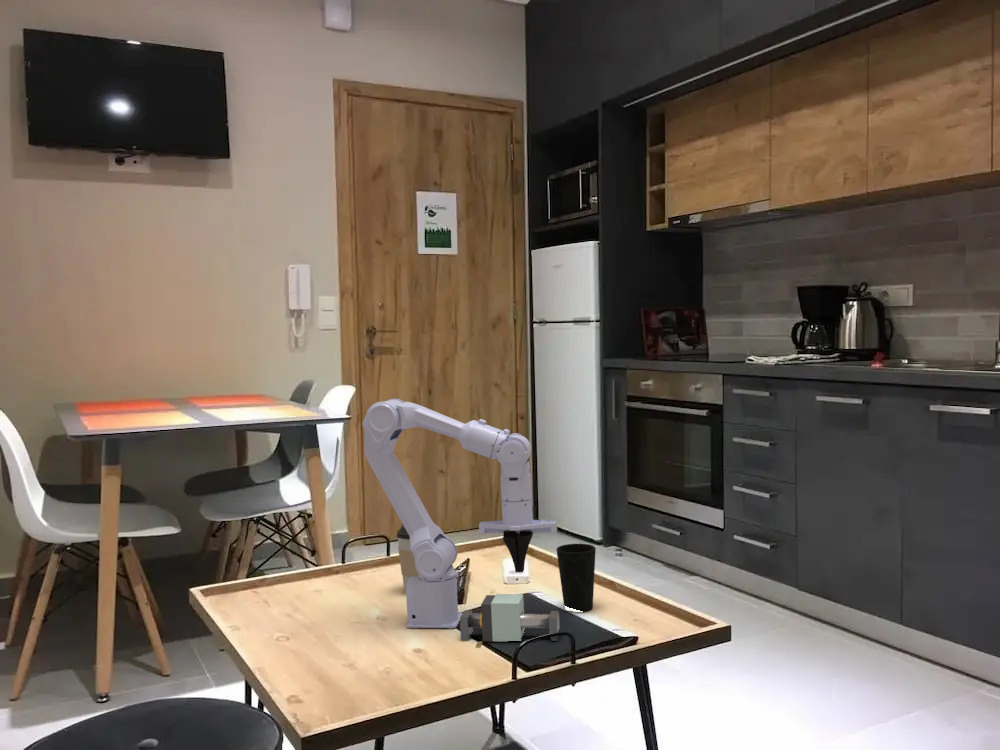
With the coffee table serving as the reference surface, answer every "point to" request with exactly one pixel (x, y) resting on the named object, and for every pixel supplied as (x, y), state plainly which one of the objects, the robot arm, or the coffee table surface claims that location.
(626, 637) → the coffee table surface
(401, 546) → the coffee cup
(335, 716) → the coffee table surface
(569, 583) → the cup
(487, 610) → the dark grey flat block
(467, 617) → the grey shaft
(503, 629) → the sleeve
